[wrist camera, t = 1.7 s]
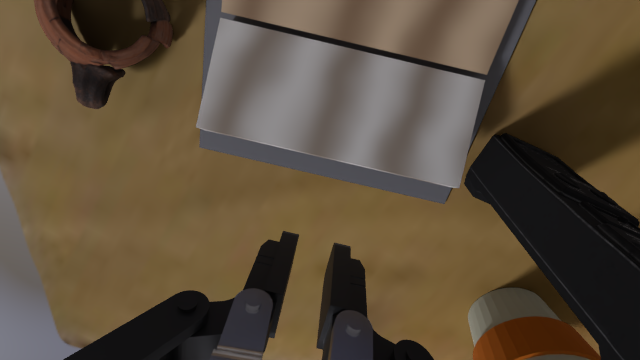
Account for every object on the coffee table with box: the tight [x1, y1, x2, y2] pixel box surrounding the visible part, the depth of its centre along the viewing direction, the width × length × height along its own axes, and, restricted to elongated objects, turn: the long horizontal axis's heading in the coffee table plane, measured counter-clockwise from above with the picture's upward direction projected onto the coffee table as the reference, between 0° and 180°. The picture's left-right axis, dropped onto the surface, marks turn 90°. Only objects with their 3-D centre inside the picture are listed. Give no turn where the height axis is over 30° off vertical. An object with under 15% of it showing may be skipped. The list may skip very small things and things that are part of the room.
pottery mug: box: [34, 0, 173, 109], centre depth 27 cm, size 12×9×8 cm
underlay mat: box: [200, 0, 536, 204], centre depth 29 cm, size 26×22×1 cm
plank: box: [196, 18, 485, 188], centre depth 27 cm, size 22×9×2 cm
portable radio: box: [464, 133, 640, 360], centre depth 20 cm, size 8×6×25 cm
